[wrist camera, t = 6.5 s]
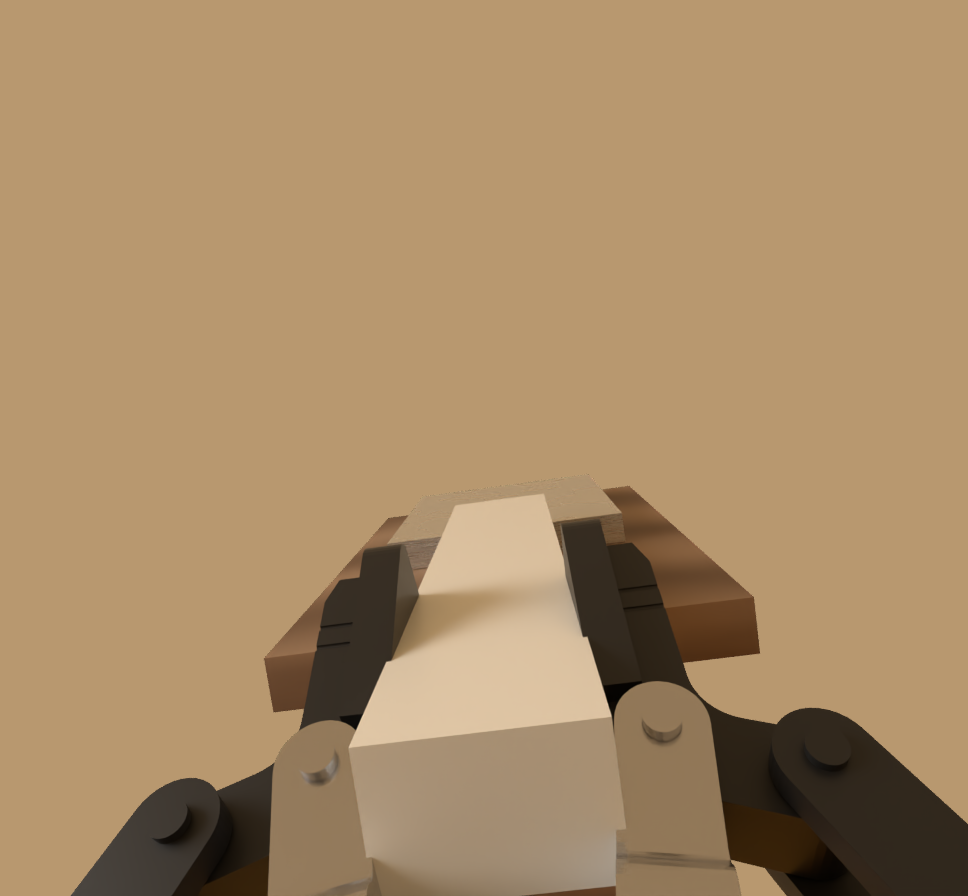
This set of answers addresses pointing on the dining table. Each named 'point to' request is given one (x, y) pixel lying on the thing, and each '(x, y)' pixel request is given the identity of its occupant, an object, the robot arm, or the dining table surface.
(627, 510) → the shelf stand
